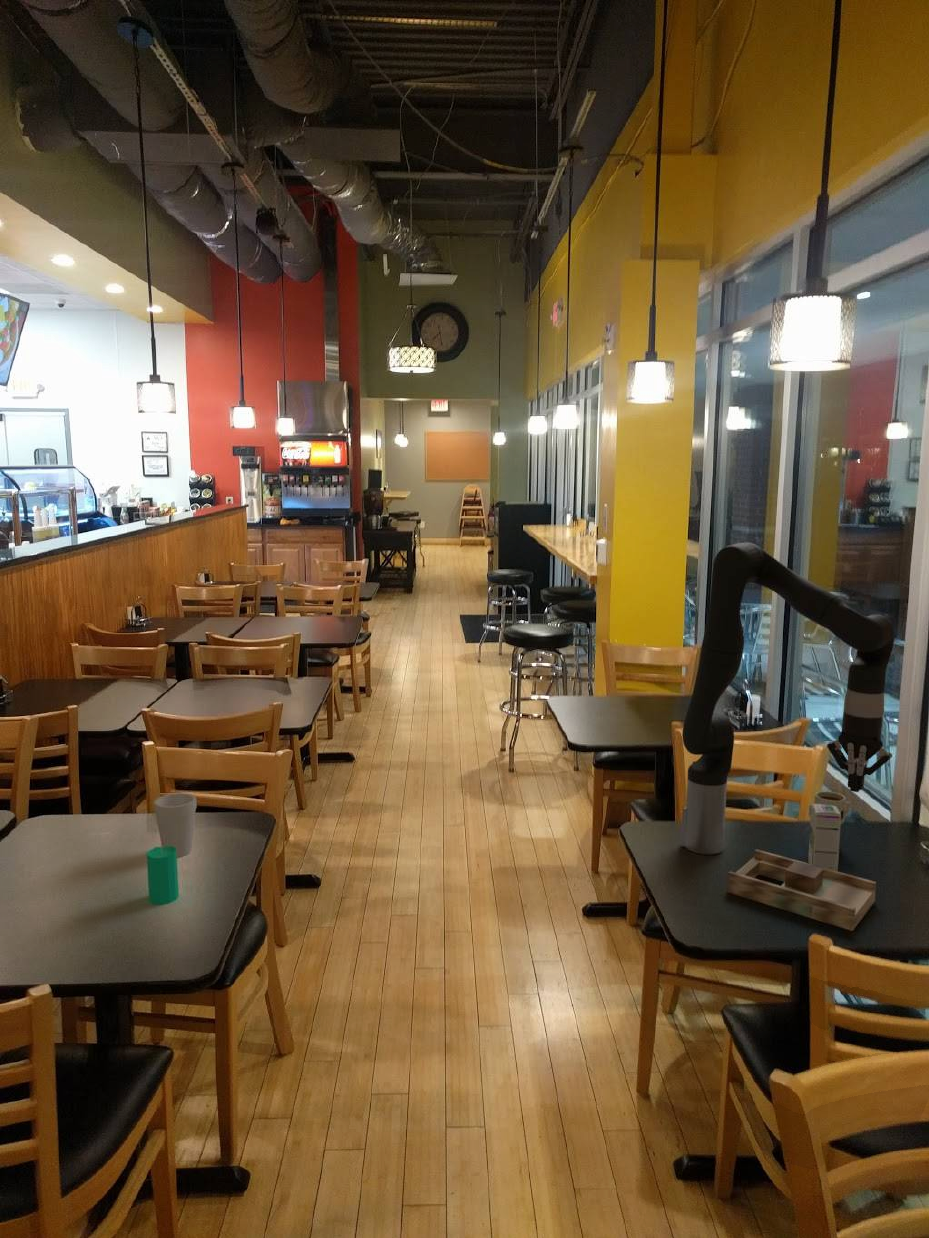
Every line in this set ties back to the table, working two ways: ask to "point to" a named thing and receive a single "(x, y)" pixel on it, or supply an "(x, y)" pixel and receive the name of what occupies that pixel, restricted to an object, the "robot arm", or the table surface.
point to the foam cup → (176, 821)
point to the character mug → (832, 802)
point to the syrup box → (824, 836)
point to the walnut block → (804, 877)
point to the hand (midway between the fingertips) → (855, 790)
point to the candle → (162, 875)
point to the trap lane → (831, 903)
